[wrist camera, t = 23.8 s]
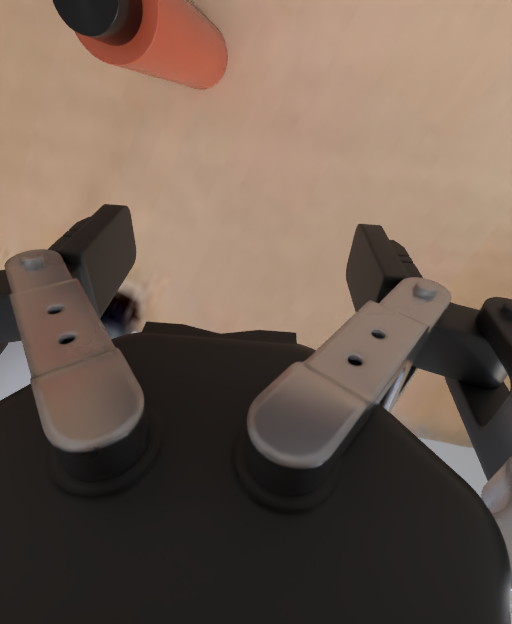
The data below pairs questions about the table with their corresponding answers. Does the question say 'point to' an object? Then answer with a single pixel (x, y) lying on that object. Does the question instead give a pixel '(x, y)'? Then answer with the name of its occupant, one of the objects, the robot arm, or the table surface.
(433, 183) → the table surface
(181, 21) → the flask
